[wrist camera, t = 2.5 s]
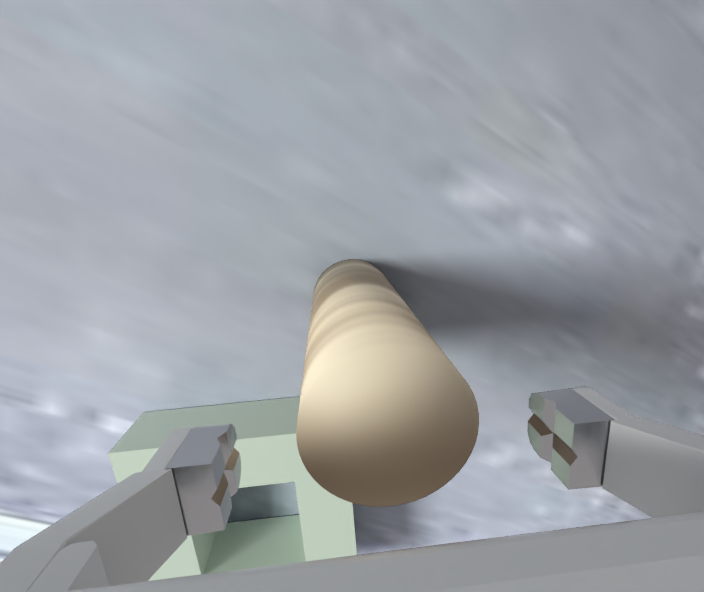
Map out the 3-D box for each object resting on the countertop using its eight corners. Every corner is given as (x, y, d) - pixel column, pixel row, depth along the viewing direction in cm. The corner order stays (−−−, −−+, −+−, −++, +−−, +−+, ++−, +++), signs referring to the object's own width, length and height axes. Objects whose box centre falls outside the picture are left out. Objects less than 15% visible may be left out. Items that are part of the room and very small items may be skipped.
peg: (309, 262, 19) (285, 357, 8) (388, 256, 19) (481, 338, 8) (317, 336, 20) (306, 515, 9) (391, 329, 21) (476, 496, 9)
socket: (143, 412, 21) (107, 453, 17) (342, 392, 21) (346, 427, 18) (183, 562, 24) (160, 622, 21) (355, 541, 25) (360, 595, 21)
